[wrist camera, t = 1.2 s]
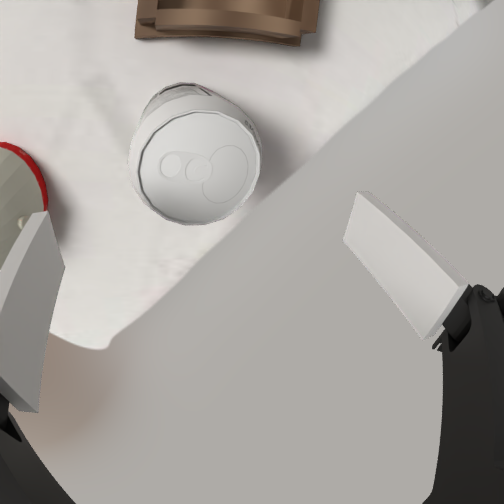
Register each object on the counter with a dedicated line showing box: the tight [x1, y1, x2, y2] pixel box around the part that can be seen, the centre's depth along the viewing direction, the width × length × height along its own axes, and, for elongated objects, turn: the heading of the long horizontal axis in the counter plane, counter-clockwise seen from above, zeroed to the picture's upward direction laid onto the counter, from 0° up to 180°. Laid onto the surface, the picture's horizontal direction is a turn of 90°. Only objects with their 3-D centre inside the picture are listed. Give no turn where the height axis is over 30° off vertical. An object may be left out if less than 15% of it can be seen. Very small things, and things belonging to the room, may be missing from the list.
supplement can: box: [127, 83, 262, 225], centre depth 21 cm, size 8×8×15 cm
